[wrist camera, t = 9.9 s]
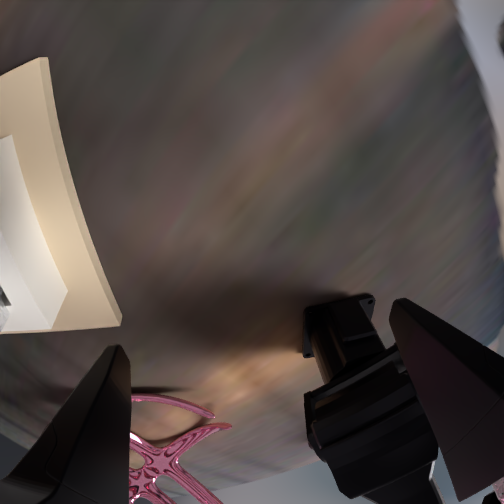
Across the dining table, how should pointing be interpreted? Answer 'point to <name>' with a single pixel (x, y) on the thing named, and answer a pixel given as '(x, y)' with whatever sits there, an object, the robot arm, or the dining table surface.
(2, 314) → the grey wooden block
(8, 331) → the cream square frame
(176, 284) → the dining table surface
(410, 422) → the robot arm
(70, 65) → the dining table surface
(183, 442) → the pink openwork sphere
